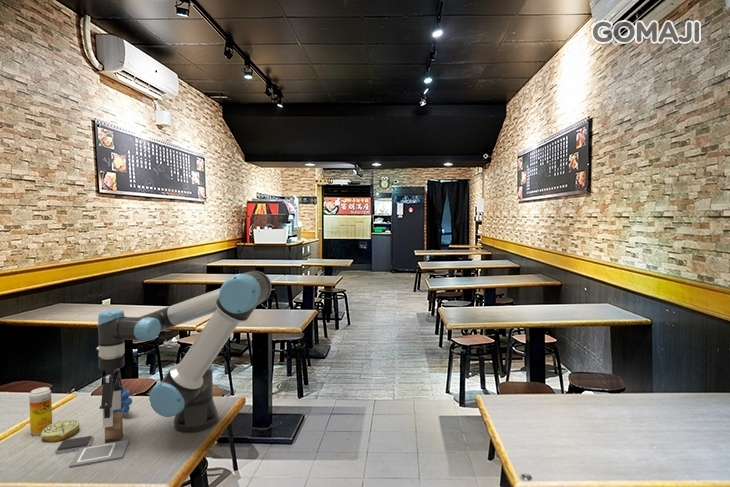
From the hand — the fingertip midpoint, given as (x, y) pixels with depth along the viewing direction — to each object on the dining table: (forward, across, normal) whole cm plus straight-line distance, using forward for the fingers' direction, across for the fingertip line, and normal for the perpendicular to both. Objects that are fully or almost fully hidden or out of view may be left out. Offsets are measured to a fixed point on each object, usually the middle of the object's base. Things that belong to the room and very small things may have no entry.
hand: (112, 417), depth 142 cm
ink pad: (+7, +1, -10) cm, 13 cm away
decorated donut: (+8, -10, -18) cm, 22 cm away
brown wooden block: (+7, 0, 0) cm, 7 cm away
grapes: (+8, -19, 0) cm, 20 cm away
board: (+7, +10, -2) cm, 12 cm away
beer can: (+8, -15, -24) cm, 30 cm away
